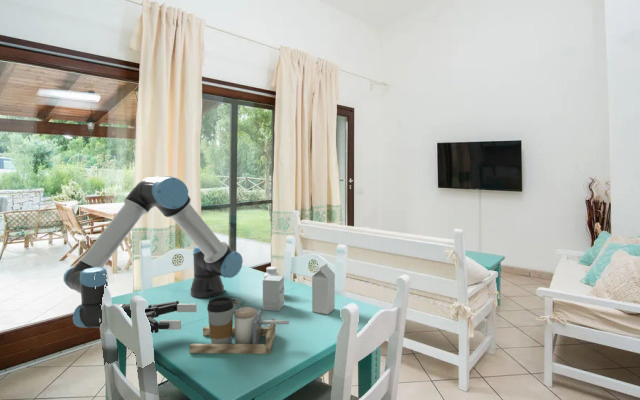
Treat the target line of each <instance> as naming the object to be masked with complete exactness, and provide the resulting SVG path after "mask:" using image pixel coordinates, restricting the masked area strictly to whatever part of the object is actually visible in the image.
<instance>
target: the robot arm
mask: <svg viewBox="0 0 640 400" xmlns="http://www.w3.org/2000/svg"><path fill="white" fill-rule="evenodd" d="M191 200H192V199H191V198H190V196H189V189H188V186H187V185H186V183H185V182H184V181H182V180H181V179H180V178H177V177H173V176H168V175H167V176H149V177H145V178H144V179H142V180H140V181H139V182H138V183H137V184H136V186H134V188H133V189H132V190H131V191H130V192H129V193H128V195H127V196H126V197H125V199H124V200H123V203H124V204H123V206H121V208H120V210H118V212H117V213H116V214H115V216H114V217H113V218H112V220H111V221H110V222H109V224H108V225H107V226H106V227H105V228H104V230H103V231H102V232H101V233H100V235H99V236H98V238H97V239H96V240H95V241H94V243H92V245H91V246H90V248H89V249H88V250H87V251H86V253H85V254H84V255H83V256H82V258H81V259H80V260H79V261H78V263H77V264H76V265H75V266H73V267H69V269H67V270H65V272H64V274H63V282H64V284H65V285H66V286H67V287H68V288H70V289H71V290H73V291H76V292H77V293H79V294H80V297H81V299H80V300H81V303H80V304H79V305H78V306H77V307H75V309H74V311H73V316H72V322H73V324H74V325H75V326H76V327H78V328H87V329H93V328H94V329H98V328H100V324H101V323H102V310H101V305H102V297H103V294H104V285H105V284H106V286H108V287H109V281H108V282H107V281H106V279H107V277H108V273H107V272H108V271H107V269H106V268H105V265H106V264H107V263H108V261H109V260H110V259H111V257H112V256H113V255H114V253H115V252H116V251H117V250H118V248H119V247H120V245H121V244H122V243H123V242H124V240H125V239H126V237H127V236H128V235H129V233H130V232H131V231H132V229H133V228H134V227H135V226H136V224H137V223H139V221H140V219H141V218H142V216H144V215H147V214H148V213H149V212H150V211H151V209H153V208H154V207H156V208H157V209H158V210H159V211H160V213H161V214H162V215H163V216H164V217H165V218H171V219H172V221H174V222H175V223H176V224H177V226H179V227H180V229H181V230H182V231H183V233H184V234H186V236H187V237H188V238H189V239H190V241H192V243H193V244H194V245H195V247H193V251H192V255H193V280H192V283H191V287H190V290H189V291H190V295H191V297H194V298H198V299H199V298H200V299H202V298H203V299H204V298H213V297H216V296H217V297H218V296H219V295H222V294H223V293H224V292H225V289H224V288H225V285H224V284H223V280H222V278H228V279H229V278H234V277H236V276H237V275H238V274H239V273H240V272H241V270H242V268H243V262H244V261H243V256H242V254H240V253H239V252H238V251H235V250H233V249H232V248H231V247H230V246H229V244H228V243H227V242H225V241H221V240H219V237H217V235H216V234H215V233H214V232H213V230H212V229H211V228H210V227H209V225H208V224H207V223H206V221H204V220H203V218H202V217H201V216H200V215H199V214H198V212H197V211H196V210H195V208H194V207H193V205H191ZM95 274H96V275H95ZM103 274H105V275H103ZM106 275H107V277H106ZM94 276H95V280H94ZM95 286H96V289H95ZM105 288H106V287H105ZM100 304H101V305H100ZM115 304H116V305H119V306H121V307H122V308H123V309H124V311H125V312H126V313H127V315H128V316H129V317H130V318H131V310H130V304H131V303H115ZM197 307H198V306H197V303H180V302H179V300H176V301H171V302H169V301H168V302H162V303H155V304H148V307H145V308H146V309H145V313H146V316H147V318H148V320H149V322H150V326H151V332H152V333H151V334H153V333H154V334H158V333H159V332H160V331H159V330H169V331H171V330H181V329H182V321H181V319H160V320H156V319H155V318H158V317H159V316H162V315H165V314H170V313H174V312H177V313H196V312H197V311H198V310H197ZM99 318H100V319H101V322H100V323H99Z"/></svg>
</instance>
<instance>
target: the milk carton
mask: <svg viewBox="0 0 640 400" xmlns="http://www.w3.org/2000/svg"><path fill="white" fill-rule="evenodd" d="M315 271H316V273H315V274H313V275H312V276H311V299H312V300H311V301H312V302H311V312H313V313H316V314H323V315H329V314H331V313H332V312H333V311H334V310H335V303H336V301H335V300H336V297H335V296H336V295H335V294H336V291H335V289H336V283H335V282H336V280H335V279H336V278H335V277H336V276H335V275H336V273H335V272H334V271H332V269H331V268H330V267H329V266H328V263H325V264H323V265H321V266H319V267H318V268H317V269H316V270H315Z"/></svg>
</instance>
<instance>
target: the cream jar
mask: <svg viewBox="0 0 640 400" xmlns="http://www.w3.org/2000/svg"><path fill="white" fill-rule="evenodd" d="M257 312H258V310H257V309H256V308H254V307H250V306H246V307H239V308H236V309H235V310H233V321H234V327H235V335H234V344H253V321H254V319H255V316H256V314H257Z"/></svg>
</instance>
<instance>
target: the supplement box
mask: <svg viewBox="0 0 640 400" xmlns="http://www.w3.org/2000/svg"><path fill="white" fill-rule="evenodd" d="M284 305H285V276H282V275H279V276H267V277H266V278H265V279H263V280H262V310H264V311H275V312H278V311H280V310H281V309H282V308H283V306H284Z"/></svg>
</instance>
